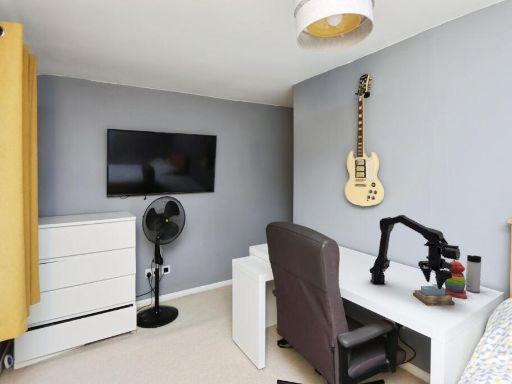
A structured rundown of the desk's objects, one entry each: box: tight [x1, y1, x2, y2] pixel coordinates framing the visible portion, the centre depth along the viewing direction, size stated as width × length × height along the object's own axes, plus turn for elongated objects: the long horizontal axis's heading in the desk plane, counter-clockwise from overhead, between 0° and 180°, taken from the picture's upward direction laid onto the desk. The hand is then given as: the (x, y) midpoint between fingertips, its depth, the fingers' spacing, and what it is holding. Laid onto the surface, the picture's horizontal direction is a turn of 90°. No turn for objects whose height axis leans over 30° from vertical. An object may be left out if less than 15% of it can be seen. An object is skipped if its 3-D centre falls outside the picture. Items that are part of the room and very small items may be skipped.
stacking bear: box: [444, 259, 468, 300], centre depth 155 cm, size 11×10×18 cm
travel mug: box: [465, 254, 482, 294], centre depth 159 cm, size 6×7×20 cm
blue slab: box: [420, 283, 445, 296], centre depth 149 cm, size 10×4×6 cm, turn 90°
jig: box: [412, 289, 455, 307], centre depth 150 cm, size 14×12×4 cm
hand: (433, 285), depth 149 cm, fingers open, 9 cm apart
